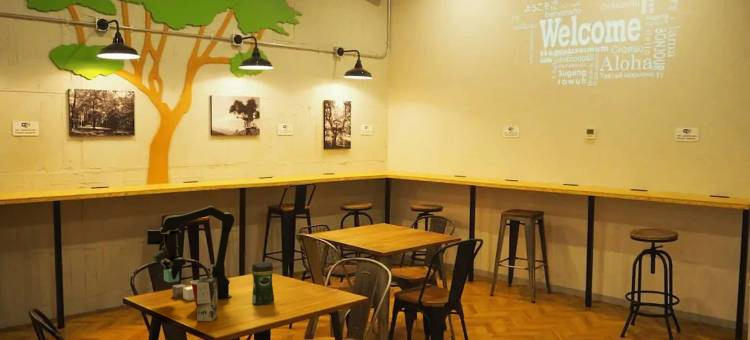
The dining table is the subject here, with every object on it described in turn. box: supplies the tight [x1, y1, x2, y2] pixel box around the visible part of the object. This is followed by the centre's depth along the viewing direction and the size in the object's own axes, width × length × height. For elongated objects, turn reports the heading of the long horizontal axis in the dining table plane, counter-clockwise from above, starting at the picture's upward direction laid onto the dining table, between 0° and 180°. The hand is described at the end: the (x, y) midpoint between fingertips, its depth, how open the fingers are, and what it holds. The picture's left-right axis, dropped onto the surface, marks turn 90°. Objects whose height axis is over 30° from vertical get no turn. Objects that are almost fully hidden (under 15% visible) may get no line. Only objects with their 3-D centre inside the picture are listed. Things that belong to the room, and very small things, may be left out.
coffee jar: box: [251, 261, 275, 306], centre depth 306 cm, size 10×8×19 cm
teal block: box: [163, 268, 180, 283], centre depth 308 cm, size 5×5×5 cm
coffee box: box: [196, 277, 219, 322], centre depth 282 cm, size 9×6×16 cm
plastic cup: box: [190, 279, 200, 309], centre depth 298 cm, size 11×11×12 cm
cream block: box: [182, 285, 195, 301], centre depth 315 cm, size 5×5×5 cm
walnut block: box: [172, 283, 188, 299], centre depth 319 cm, size 5×5×5 cm
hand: (171, 278), depth 308 cm, fingers closed on teal block, 5 cm apart
